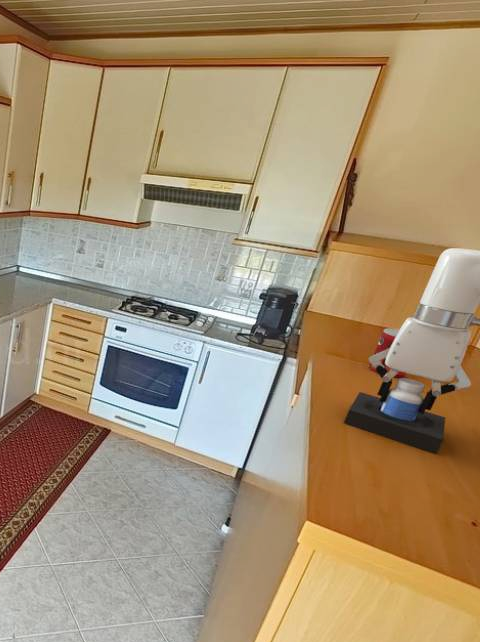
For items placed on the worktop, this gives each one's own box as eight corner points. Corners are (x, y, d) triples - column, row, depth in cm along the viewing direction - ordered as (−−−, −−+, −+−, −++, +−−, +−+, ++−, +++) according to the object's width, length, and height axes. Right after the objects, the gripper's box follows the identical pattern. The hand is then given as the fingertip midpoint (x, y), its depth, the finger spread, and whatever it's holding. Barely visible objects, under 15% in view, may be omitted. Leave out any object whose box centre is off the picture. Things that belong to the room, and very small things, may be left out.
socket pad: (354, 404, 107) (359, 391, 106) (438, 430, 98) (445, 417, 97) (343, 422, 97) (349, 409, 96) (436, 454, 88) (443, 439, 87)
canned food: (383, 366, 134) (400, 328, 130) (412, 378, 126) (431, 338, 122) (360, 365, 132) (376, 327, 128) (388, 378, 125) (406, 337, 121)
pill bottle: (414, 436, 94) (436, 390, 91) (381, 429, 96) (401, 384, 92) (402, 424, 99) (422, 380, 95) (370, 417, 101) (389, 374, 97)
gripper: (506, 327, 86) (460, 417, 93) (385, 303, 97) (351, 385, 104) (509, 334, 81) (459, 429, 88) (381, 308, 92) (345, 394, 99)
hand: (401, 404), depth 96 cm, fingers closed on pill bottle, 5 cm apart
